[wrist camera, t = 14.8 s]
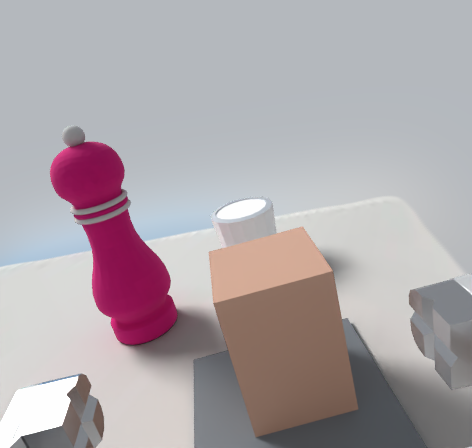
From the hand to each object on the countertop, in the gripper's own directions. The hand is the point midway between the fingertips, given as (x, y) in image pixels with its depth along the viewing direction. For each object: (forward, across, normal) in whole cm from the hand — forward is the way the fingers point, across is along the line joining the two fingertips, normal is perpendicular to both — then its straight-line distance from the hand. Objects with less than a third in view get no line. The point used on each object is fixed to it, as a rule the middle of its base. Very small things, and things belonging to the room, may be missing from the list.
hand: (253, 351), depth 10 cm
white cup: (+34, -2, +16) cm, 38 cm away
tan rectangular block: (+14, -2, +15) cm, 21 cm away
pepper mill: (+27, +10, +17) cm, 34 cm away
